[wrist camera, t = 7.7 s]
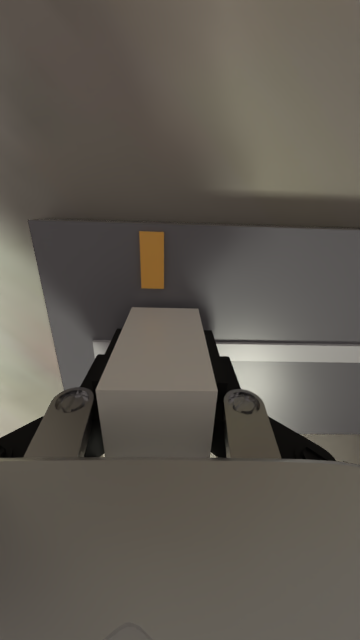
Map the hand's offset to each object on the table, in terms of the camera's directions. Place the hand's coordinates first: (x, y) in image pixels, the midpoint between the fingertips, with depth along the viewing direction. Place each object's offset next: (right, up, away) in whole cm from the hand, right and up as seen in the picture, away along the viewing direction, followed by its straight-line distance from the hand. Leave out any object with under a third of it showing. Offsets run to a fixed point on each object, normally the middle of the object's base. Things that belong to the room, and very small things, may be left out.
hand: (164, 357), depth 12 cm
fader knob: (0, 0, 0) cm, 0 cm away
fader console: (+7, +1, +2) cm, 8 cm away
